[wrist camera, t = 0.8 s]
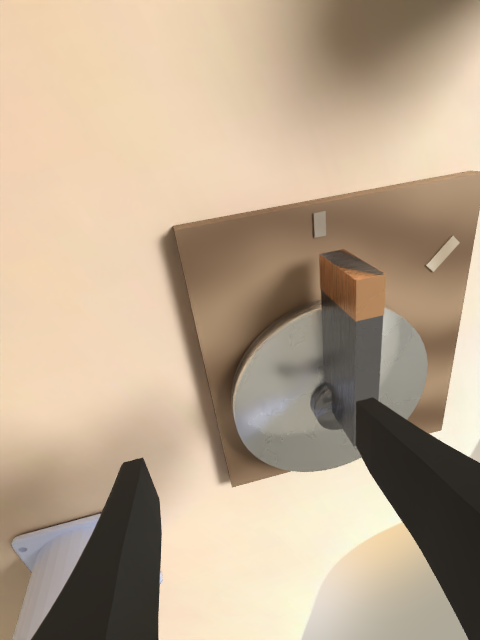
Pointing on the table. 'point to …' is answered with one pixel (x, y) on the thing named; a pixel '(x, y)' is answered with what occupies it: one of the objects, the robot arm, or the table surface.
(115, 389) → the table surface
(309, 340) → the dial
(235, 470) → the dial board
